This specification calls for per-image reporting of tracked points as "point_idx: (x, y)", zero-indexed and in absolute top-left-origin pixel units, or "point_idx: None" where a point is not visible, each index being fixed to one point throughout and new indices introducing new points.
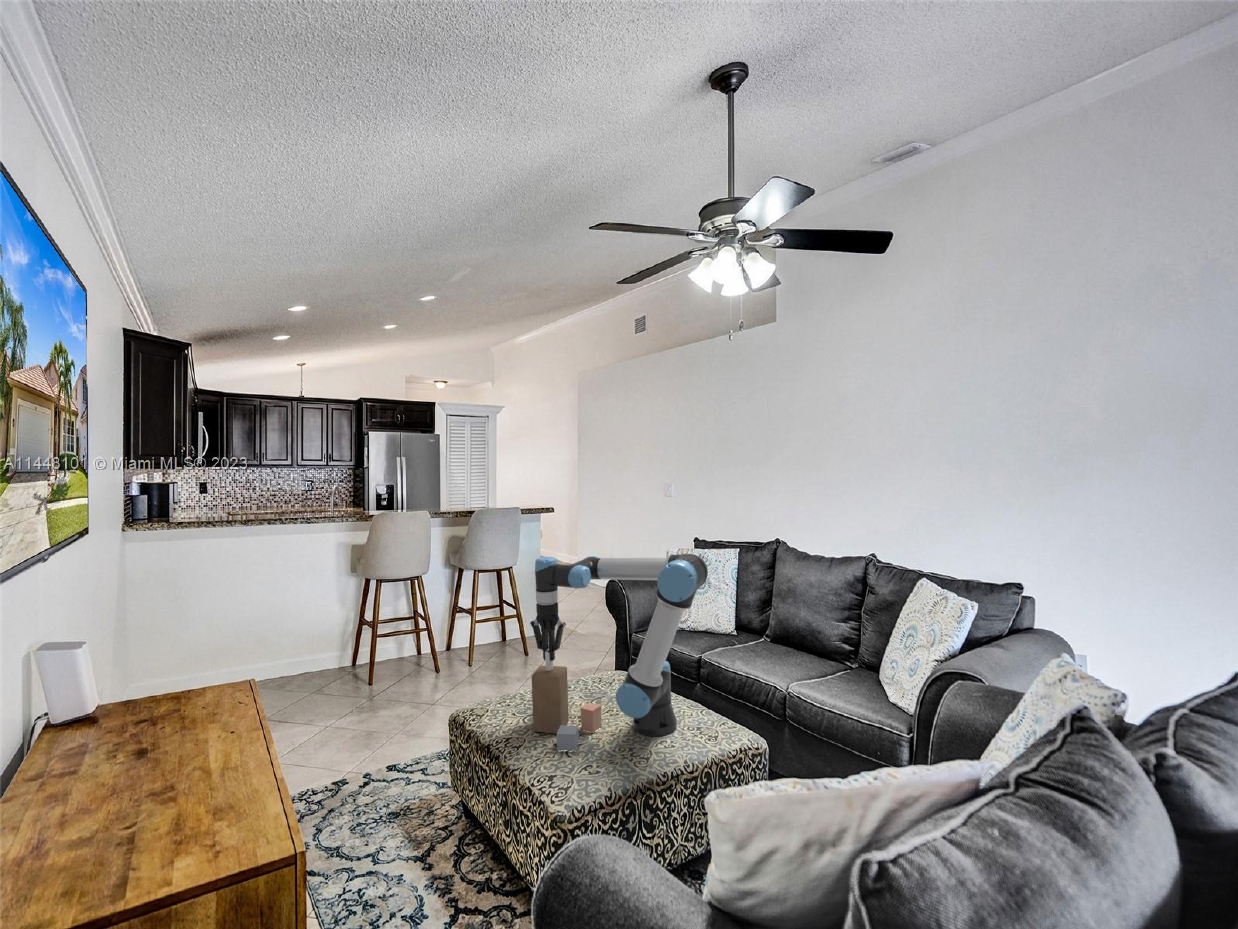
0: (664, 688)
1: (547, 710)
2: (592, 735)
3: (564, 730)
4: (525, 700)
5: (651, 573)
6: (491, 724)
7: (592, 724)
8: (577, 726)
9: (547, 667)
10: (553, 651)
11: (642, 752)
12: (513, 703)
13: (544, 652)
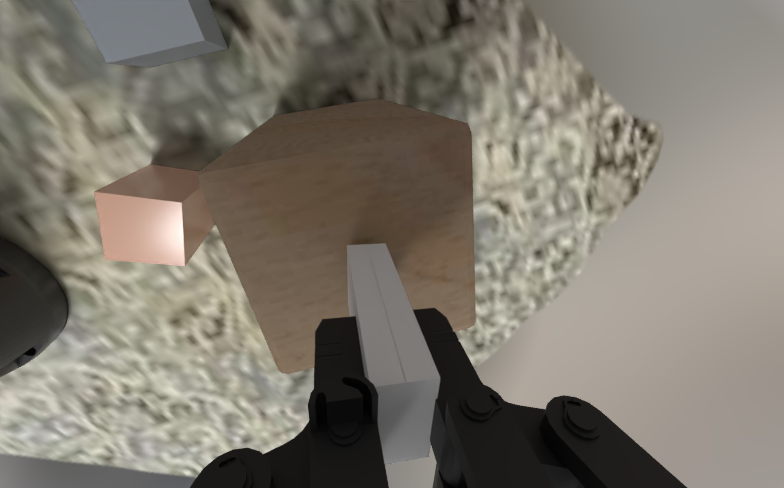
0: None
1: (322, 115)
2: (146, 152)
3: None
4: (500, 293)
5: None
6: (550, 115)
7: (135, 174)
8: (103, 51)
9: (370, 259)
10: (306, 436)
11: None
12: (527, 266)
13: (455, 379)
